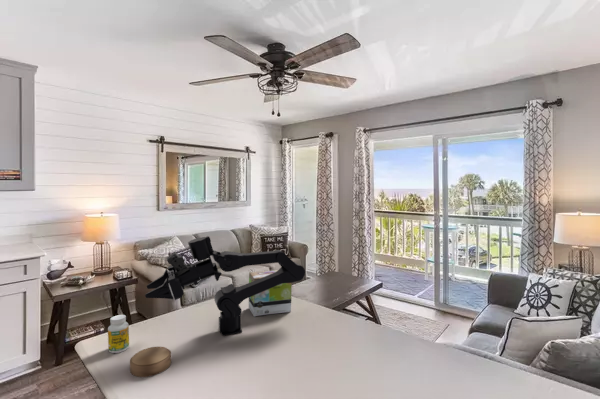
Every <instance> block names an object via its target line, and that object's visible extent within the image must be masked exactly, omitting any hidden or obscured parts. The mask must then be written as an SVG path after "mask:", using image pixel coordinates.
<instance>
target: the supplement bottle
mask: <svg viewBox="0 0 600 399" xmlns="http://www.w3.org/2000/svg"><path fill="white" fill-rule="evenodd" d="M109 320H110V322H109V323H110V325H109V326H108V327H107V337H108V338H107V340H108V341H107V342H108V352H109V353H112V354H118V353H122V352H124V351H126V350H127V349H129V347H130V332H129V331H130V330H129V329H130V328H129V326H130V325H129V323H128V322H127V321H126V320H127V316H126V315H125V314H118V315H115V316H114V315H113V316H112V317H110V319H109Z"/></svg>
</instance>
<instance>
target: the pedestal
mask: <svg viewBox="0 0 600 399" xmlns="http://www.w3.org/2000/svg"><path fill="white" fill-rule="evenodd" d="M171 364H172V352H171V350H170V349H169V348H167V347H165V346H151V347H147V348H144V349H142V350H139V351H137V352H136V353H134V354H133V355H132V356H131V357H130V360H129V371H130V372H129V373H130V374H131V375H132V376H134V377H137V378H146V377H147V378H148V377H152V376H157V375H158V374H161V373H163V372H165V371H166V370H167V369H169V368H170V366H171Z"/></svg>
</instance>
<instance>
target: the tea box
mask: <svg viewBox="0 0 600 399" xmlns="http://www.w3.org/2000/svg"><path fill="white" fill-rule="evenodd" d="M278 270H279V269H276V270H264V271H263V270H262V271H251V272H249V273H248V283H250V282H253V281H255V280H258V279H260V278H263V277H265V276H268V275H270V274H272V273H275V272H277V271H278ZM292 286H293V284H292V283H282V284H280V285H277V286H275V287H273V288H270V289H268V290H265V291H263V292H261V293H258V294H256V295H254V296H251V297H249V298H248V309H249V311H250V312H251V314H252V315H253V317H258V316H259V317H260V316H265V315H274V314H275V315H276V314H281V313H282V314H283V313H291V312H292Z"/></svg>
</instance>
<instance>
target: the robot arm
mask: <svg viewBox="0 0 600 399" xmlns="http://www.w3.org/2000/svg"><path fill="white" fill-rule="evenodd" d="M211 242H212V240H211V237H210V236H208V235H207V236H204V237H203V236H202V237H195V238H194V239H191V240H189V241H188V242H187V243H188V247H189V250H190V253H191V257H192V259H193V260H197V262H196V263H193V264H192V263H191V262H188V263H186V262H185V261H186V260H185V259H184V257H183V256H182V255H181V256H180V255H179V254H178V253H177V252H176V251H174V252H173V253H171V254H170V255H168V256H167V257H166V262H167V263H169V266H167V267H166V268H165V271H164V272H163V274H162V275H161V276H159V277H157V278H156V279H155V280H153V281H152V282H150V283H148V284H147V285H146V289H148V290H150V289H151V290H150V291H149V292H147V293H145V295H144V297H145V299H165V300H168V299H169V300H175V301H177V300H180V299H182V298H183V296H184V294H185V292H184V290H185V287H189V286H190V285H198V284H199V283H198V282H201V281H203V280H206V279H208V278H211V277H213V276H214V279H215V281H216V282H218V281H219V280H220V278H221V276H222V272H221V271H220V270H222V271H223V272H226V273H230V272H233V271H236V270H240V269H242V268H243V267H248V266H257V265H265V264H266V265H267V264H268V265H269V264H275V263H278V264H279V266H280V268H279V269H277V270H278V271H277V272H275V273H272V274H270V275H268V276H265V277H263V278H260V279H258V280H255V281H253V282H250V283H249V282H248V283H246V284H243V285H240V286H235V285H234V284H233V283H230V284H228V285H226V286H223V287H220V289H219V290H218V291H217V292H215V294H214V299H213V300H214V302H215V303H214V304H215V305H216V308H217V309H218V310H219V311H220V315H219V316H218V330H219V332H220V333H221V336H229V335H234V334H235V335H236V334H240V333H242V332H243V330H242V326H241V325H242V324H241V321H242V320H241V315H242V314H241V312H242V308H241V306H240V305H241V303H242V302H243V301H244V300H246V299H249V297H251V296H254V295H256V294H258V293H261V292H263V291H265V290H268V289H270V288H273V287H275V286H277V285H280V284H282V283H297V282H300V281H302V280H303V279H304V278H305V275H306V270H305V268H304V266H303V265H300V264H299V263H297V262H295V261H293V259H291V258H290V257H289V256H287V255H286V253H285V252H284V251H282V250H280V249H276V250H268V251H257V252H247V253H245V252H244V253H243V252H238V251H237V252H236V251H228V250H227V251H226V250H225V251H222V252H220V251H218V250H214V249H213V245H212V243H211ZM211 257H212V258H211ZM212 259H213V260H214V262H213V261H212ZM217 265H218V266H217ZM218 267H219V268H220V270H218Z"/></svg>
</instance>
